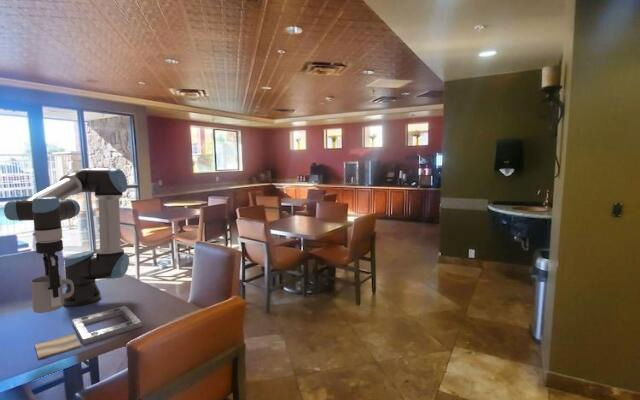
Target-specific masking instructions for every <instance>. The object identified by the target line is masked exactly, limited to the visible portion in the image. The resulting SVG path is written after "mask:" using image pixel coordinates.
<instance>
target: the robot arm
mask: <svg viewBox="0 0 640 400" xmlns="http://www.w3.org/2000/svg"><path fill="white" fill-rule="evenodd" d="M127 189H128V180H127V177H126V175H125V173H124V171H123V170H121V169H120V168H111V167H109V168H108V167H107V168H106V167H105V168H103V167H99V168H87V167H86V168H82V169H81V168H80V169H78V170H74V171H72V172H70V173H67V174H65V175H63V176H61V177H60V178H59V180H58V181H57V182H55V183H53V184H51V185H49V186H47V187H45V188H44V189H42V190H40V191H38V192H36V193H33V194H31V195H30V196H28V197H26V198H23V199H21V200H20V199H19V200H18V199H16V200H9V201H8V202H6V203H5V204H4V207H3V213H4V216H5V218H6V219H7V220H9V221H18V222H22V221H33V226H34V227H33V228H34V229H33V230H34V232H32V237H33V236H34V239H35V242H36V243H35V252H36V253H37V254H42V255H43V257H42V260H43V266H44V271H45V272H44V276H47V275H49V281H50V288H48V290H50V298H51V307H54V306H58V305H61V297H60V286H61V285H60V279H59V275H60V270H59V267H60V266H59V255H57V254H56V253H57V252H61V251H62V250H63V249H64V243H63V242H64V241H63V240H62V238H63V228H62V221H65V220H70V219H73V218H75V217H76V216H78V215H79V213H80V211H81V206H80V204H79V203H78V201H76V200H74V199H72V198H69V197H70V196H76V195H78V194H80V193H94V197H95V198H96V199H98V222H99V225H98V226H99V227H98V228H99V249H98V250H97V251H96V254H95V253H94V252H93V251H84V252H79V253H75V254H72V255H69V256H67V257H66V258H65V259H64V270H65V271H64V274H65V280H66V279H68V280H71V281H72V282H73V284H74V293H73V295H72V296H70V297H68V298H64V299H63V306H66V307H79V306H84V305H89V304H92V303H94V302H97V301H98V300H100V299H101V298H102V297H101V294H102V293H101V291H100V289H99V287H98V285H97V283H96V282H97V281H96V280H104V279H106V280H107V279H109V280H110V279H112V280H114V279H120V278H123V277H124V276H125V275H126V273H127V271H128V269H129V265H130V257H129V255H128V254H127V253H125V250H124V249H123V248H122V247H121V220H120V219H121V217H120V214H121V213H120V200H121V198H122V197H123V196H124V195H123V193H125V192H126V191H127ZM54 284H55V285H54ZM65 286H66V287H65V290H64V294H67V293H69V292H70V291H71V286H70V284H65Z"/></svg>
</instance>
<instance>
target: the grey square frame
mask: <svg viewBox="0 0 640 400" xmlns="http://www.w3.org/2000/svg"><path fill="white" fill-rule="evenodd" d="M121 315H122V316H123V317H124V318H125V319H126V320H127V321H126V322H123V323H118V324H116V325H111V326H108V327H105V328H101V329H98V330H95V331H92V332H89V331H88V329H87V328H86V325H90V324H92V323H96V322H99V321H103V320H107V319H112V318H115V317H118V316H121ZM71 322H72V326H73V328H74V329H75V332H76V333H77V335H78V337H79V339H80V340H81V342H82V344H83V345H85V344H90V343H92V342H96V341H100V340H103V339H105V338H109V337H112V336H115V335H118V334H121V333H122V334H123V333H125V332H128V331H131V330H135V329H138V328H141V327H142V325H143V324H142V321H141V320H140V319H139V318H138V317H137V315H135V313H133V312H132V310H131V309H130V308H128V307H127V306H126V305H123V306H119V307H116V308H112V309H107V310H104V311H101V312H97V313H94V314H89V315H85V316H82V317H77V318H73V319H72V321H71Z"/></svg>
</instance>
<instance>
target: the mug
mask: <svg viewBox="0 0 640 400" xmlns="http://www.w3.org/2000/svg"><path fill="white" fill-rule="evenodd" d="M59 279H60V285H61V286H60V297H61V305H58V306H54V307H51V298H50V290H48V288H50V281H49V275H47V276H45V275H42V276H38V277H36V278H33V279H32V280H31V281H30V287H31V288H30V290H31V298H32V310H33V312H34V313H36V314H45V313H51V312H55V311H56V310H60V309H61V308H63V306H64V304H63V299H64V298H68V297H70V296H72V295H73V293H74V284H73V282H72V281H71V280H68V279H66V278H65V279H62V276H61V274H59ZM66 284H70V286H71V291H70V292H69V293H67V294H65V293H63V286H64V285H66ZM54 285H55V284H54Z"/></svg>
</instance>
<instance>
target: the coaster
mask: <svg viewBox="0 0 640 400" xmlns="http://www.w3.org/2000/svg"><path fill="white" fill-rule="evenodd" d="M81 346H82V344H81V343H80V340H79V338H77V335H76V334H75V333H74V332H73V333H71V334H68V335H64V336H60V337H56V338H52V339H50V340H46V341H43V342H39V343H36V344H34V348H35V350H36V355H37V358H38V360H42V359H44V358H49V357H51V356H52V357H53V356H55V355H58V354H61V353H65V352H67V351H71V350H75V349H77V348H80V347H81Z"/></svg>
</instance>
